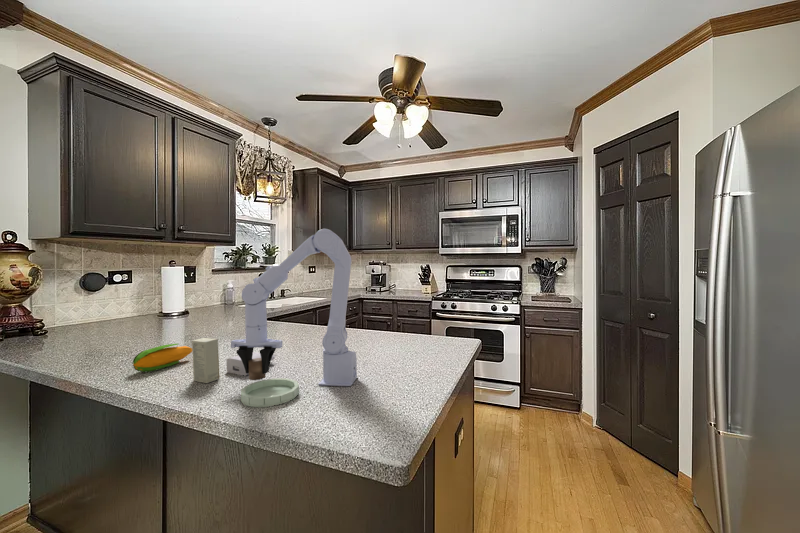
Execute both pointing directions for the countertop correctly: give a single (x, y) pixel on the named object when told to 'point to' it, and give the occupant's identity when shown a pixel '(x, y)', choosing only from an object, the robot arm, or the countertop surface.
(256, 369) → the walnut bead
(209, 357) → the skincare box
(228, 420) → the countertop surface
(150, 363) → the corn
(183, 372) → the countertop surface
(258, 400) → the round tray
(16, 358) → the countertop surface
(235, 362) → the charger
